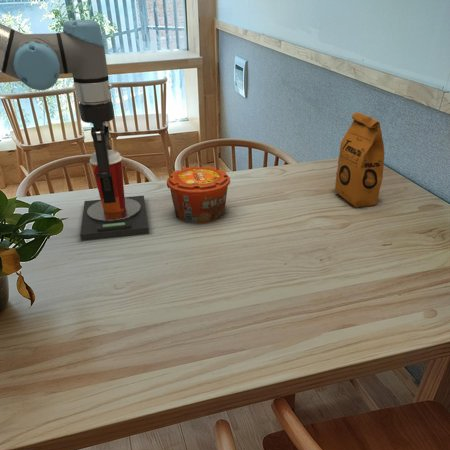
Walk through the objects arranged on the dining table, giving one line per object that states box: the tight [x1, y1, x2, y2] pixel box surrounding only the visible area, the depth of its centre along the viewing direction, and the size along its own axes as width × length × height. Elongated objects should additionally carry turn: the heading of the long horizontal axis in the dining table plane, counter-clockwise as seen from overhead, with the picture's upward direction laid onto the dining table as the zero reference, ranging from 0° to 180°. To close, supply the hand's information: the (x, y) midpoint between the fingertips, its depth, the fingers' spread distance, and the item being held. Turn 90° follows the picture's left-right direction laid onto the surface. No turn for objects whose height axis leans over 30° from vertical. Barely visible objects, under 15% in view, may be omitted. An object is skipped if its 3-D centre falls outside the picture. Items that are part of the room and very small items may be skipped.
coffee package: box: [334, 111, 385, 208], centre depth 119 cm, size 10×12×22 cm
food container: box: [166, 165, 231, 224], centre depth 115 cm, size 16×16×11 cm
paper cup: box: [89, 149, 126, 213], centre depth 111 cm, size 8×8×14 cm
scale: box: [79, 195, 150, 242], centre depth 115 cm, size 16×20×3 cm
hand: (110, 191), depth 113 cm, fingers open, 13 cm apart
